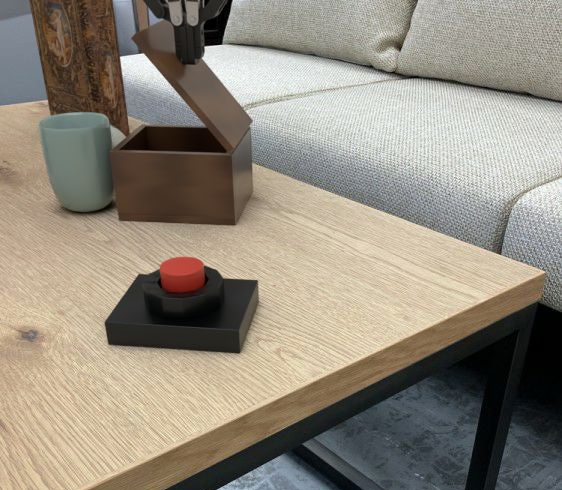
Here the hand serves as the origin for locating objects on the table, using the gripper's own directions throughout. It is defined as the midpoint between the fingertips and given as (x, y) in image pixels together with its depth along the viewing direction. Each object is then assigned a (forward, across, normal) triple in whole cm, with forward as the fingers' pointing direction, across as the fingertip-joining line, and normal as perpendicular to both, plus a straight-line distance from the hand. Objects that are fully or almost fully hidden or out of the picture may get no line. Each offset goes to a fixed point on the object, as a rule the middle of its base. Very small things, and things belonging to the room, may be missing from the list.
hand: (190, 63), depth 75 cm
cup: (+16, +14, +2) cm, 21 cm away
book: (+16, +25, -30) cm, 43 cm away
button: (+12, -6, +28) cm, 31 cm away
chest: (+16, +2, 0) cm, 16 cm away
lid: (+2, 0, 0) cm, 2 cm away
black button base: (+16, -6, +28) cm, 32 cm away
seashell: (+16, +18, -12) cm, 27 cm away
